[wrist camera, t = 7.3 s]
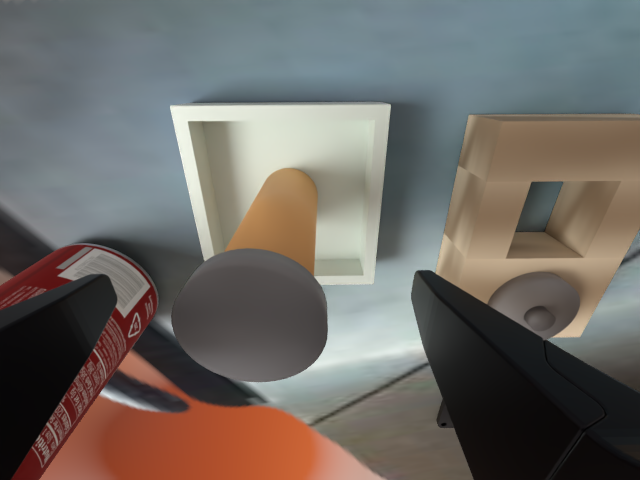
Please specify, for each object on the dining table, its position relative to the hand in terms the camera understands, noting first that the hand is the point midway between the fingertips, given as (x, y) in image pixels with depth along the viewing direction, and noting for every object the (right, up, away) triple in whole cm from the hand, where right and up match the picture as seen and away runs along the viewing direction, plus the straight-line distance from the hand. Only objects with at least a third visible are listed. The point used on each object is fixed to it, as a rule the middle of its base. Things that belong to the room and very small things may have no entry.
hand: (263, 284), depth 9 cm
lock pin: (0, +4, +7) cm, 8 cm away
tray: (0, +4, +8) cm, 9 cm away
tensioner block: (+13, +2, +9) cm, 16 cm away
